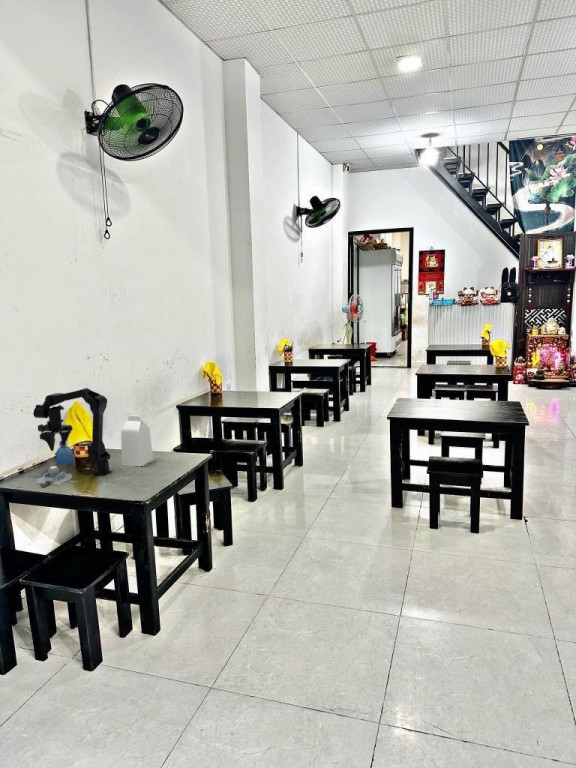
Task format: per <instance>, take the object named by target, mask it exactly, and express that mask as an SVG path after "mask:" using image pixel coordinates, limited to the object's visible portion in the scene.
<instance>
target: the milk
mask: <svg viewBox="0 0 576 768" xmlns="http://www.w3.org/2000/svg"><path fill="white" fill-rule="evenodd" d="M120 435H121V436H120V438H121V439H120V441H121V442H120V443H121V445H120V446H121V447H120V448H121V466H122V465H130V466H129V467H131V465H132V466H143V465H144V464H146V463H148V462H149V461H151V460H154V454H153V447H152V446H153V445H152V437H151V431H150V427H149V426H148V424H147V423H146V422H144V421H143V419H142V416H141V415H138V414H137V415H136V414H135V415H133V414H129V415H128V417H127V419H126V422H125V424H124V425H123V426H122V429H121V432H120ZM143 467H144V466H143Z"/></svg>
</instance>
